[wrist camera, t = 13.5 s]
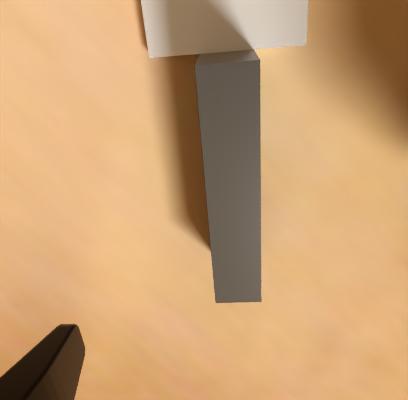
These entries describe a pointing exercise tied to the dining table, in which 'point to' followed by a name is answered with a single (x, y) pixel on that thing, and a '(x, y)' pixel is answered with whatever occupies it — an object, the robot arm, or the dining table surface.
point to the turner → (228, 115)
